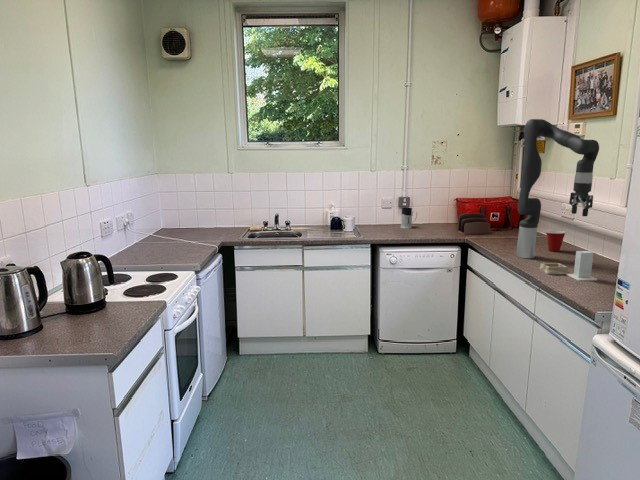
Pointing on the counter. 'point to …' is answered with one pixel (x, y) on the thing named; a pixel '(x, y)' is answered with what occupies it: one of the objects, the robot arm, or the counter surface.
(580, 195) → the robot arm
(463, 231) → the letter holder
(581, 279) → the pad
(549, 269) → the collar
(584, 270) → the skincare box
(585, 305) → the counter surface
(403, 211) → the tall grey mug
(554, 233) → the plastic cup
